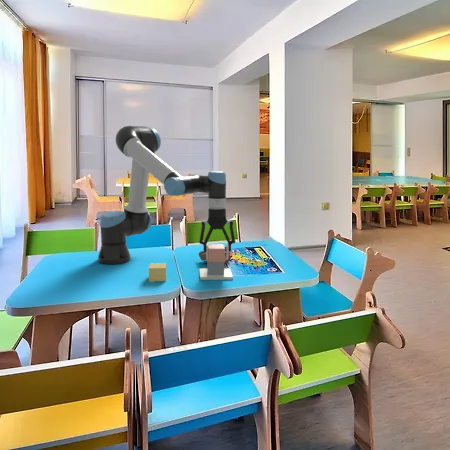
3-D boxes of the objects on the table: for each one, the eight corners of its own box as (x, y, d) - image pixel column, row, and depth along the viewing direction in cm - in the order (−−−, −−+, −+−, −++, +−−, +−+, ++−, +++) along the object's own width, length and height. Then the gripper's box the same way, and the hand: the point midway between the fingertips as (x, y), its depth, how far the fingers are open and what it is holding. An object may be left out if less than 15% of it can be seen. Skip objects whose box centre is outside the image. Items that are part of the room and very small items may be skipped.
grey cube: (208, 275, 176) (208, 261, 174) (207, 270, 182) (207, 257, 181) (224, 275, 176) (224, 261, 175) (222, 270, 183) (223, 257, 182)
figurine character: (201, 268, 194) (232, 263, 196) (199, 252, 192) (230, 248, 194) (199, 263, 200) (229, 259, 203) (197, 249, 199) (228, 244, 201)
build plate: (200, 279, 173) (200, 277, 173) (199, 271, 185) (199, 268, 184) (232, 279, 174) (232, 276, 174) (229, 270, 186) (229, 268, 186)
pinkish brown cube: (208, 262, 174) (208, 248, 173) (207, 257, 181) (207, 244, 180) (224, 261, 175) (225, 248, 174) (223, 257, 182) (223, 244, 180)
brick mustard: (148, 282, 169) (148, 268, 168) (150, 276, 176) (149, 263, 175) (165, 281, 170) (165, 268, 169) (166, 276, 177) (166, 263, 176)
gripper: (192, 209, 169) (193, 261, 173) (242, 208, 171) (242, 260, 175) (192, 206, 176) (193, 257, 181) (240, 206, 178) (239, 256, 183)
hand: (217, 258), depth 178 cm, fingers open, 8 cm apart
